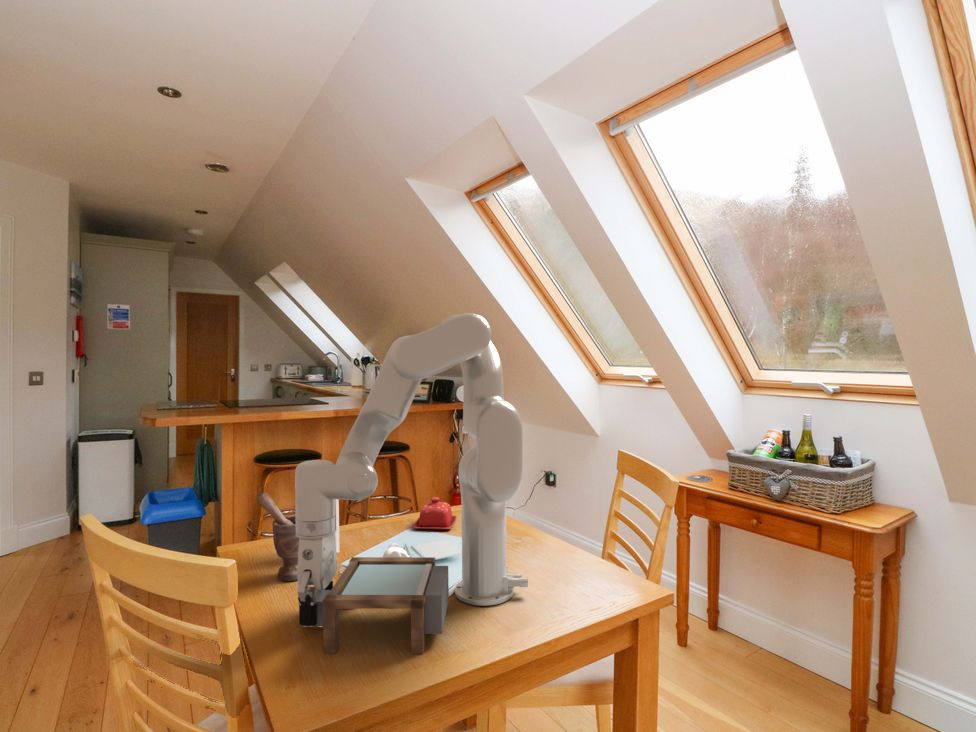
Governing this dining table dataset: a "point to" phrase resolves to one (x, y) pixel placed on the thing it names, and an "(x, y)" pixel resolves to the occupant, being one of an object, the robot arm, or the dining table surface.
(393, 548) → the elephant figurine
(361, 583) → the trapdoor
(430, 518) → the butter dish
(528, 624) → the dining table surface
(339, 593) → the frame
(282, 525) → the mortar and pestle
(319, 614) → the gray cube
